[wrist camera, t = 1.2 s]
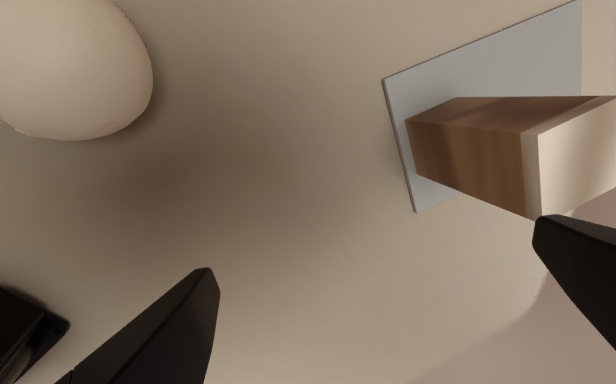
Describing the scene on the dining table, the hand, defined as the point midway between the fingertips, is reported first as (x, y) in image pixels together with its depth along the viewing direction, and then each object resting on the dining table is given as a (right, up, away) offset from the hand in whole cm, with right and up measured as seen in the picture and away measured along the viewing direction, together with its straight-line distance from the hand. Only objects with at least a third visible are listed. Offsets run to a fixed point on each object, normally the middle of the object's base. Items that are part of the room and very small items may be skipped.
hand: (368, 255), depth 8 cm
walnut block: (+8, +6, +14) cm, 18 cm away
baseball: (-14, +8, +8) cm, 18 cm away
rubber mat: (+13, +8, +15) cm, 22 cm away
